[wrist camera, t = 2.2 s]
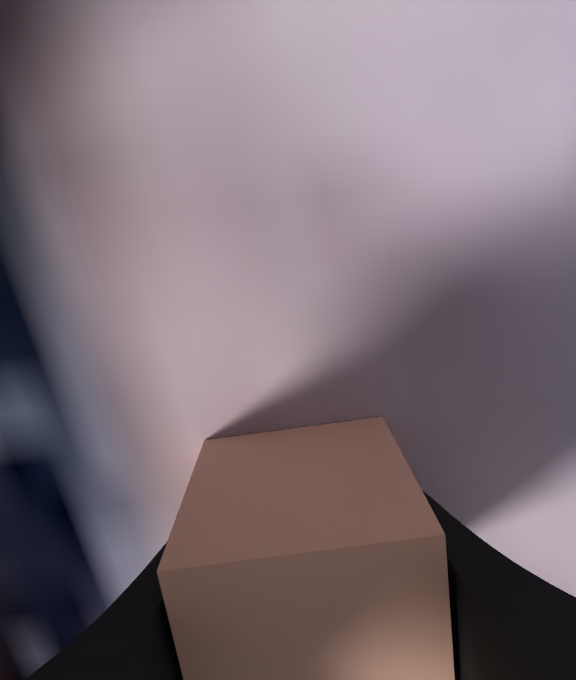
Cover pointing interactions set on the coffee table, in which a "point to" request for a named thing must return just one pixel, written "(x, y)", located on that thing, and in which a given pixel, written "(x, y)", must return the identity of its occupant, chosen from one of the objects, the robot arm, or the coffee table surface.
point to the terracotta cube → (308, 561)
